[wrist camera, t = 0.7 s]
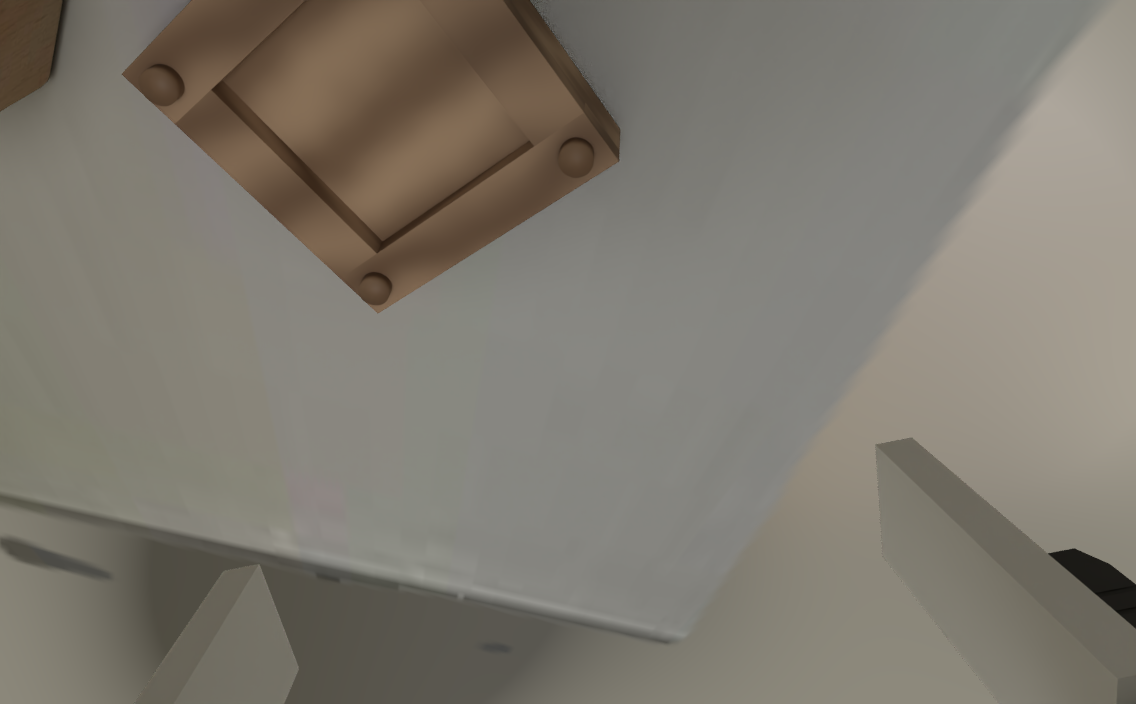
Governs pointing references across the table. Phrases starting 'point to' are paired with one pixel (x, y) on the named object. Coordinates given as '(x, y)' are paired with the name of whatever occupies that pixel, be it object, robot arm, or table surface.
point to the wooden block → (26, 46)
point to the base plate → (383, 123)
